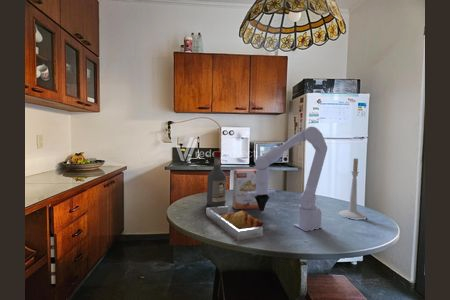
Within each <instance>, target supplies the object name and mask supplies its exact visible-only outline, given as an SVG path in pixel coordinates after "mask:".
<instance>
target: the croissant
mask: <svg viewBox="0 0 450 300" xmlns="http://www.w3.org/2000/svg"><path fill="white" fill-rule="evenodd" d="M219 216H220V217H222V218H223V219H225V220H226V221H227V222H229V223H230V224H232V225H233V226H234V227H236V228H237V229H239V230H240V229H247V228H254V227H263V226H264V222H263V221H261V220H259V219H257V218H254V217H253V216H252V215H250V214H248V212H247V211H244V210H240V211H237V212H228V213H227V214H220V215H219Z"/></svg>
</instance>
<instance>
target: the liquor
mask: <svg viewBox="0 0 450 300" xmlns="http://www.w3.org/2000/svg"><path fill="white" fill-rule="evenodd" d="M213 157H214V158H213V159H214V160H213V161H214V162H213V168H212V170H211V171H210V172H209V173H208V174H207V178H206V179H207V183H206V184H207V185H206V204H207V206H210V207H220V206H226V201H227V199H226V194H227V193H226V192H227V175H226V173H225V172H224V171H223V169H222V167H221V157H222V151H218V150H216V151H214V153H213Z"/></svg>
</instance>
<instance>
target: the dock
mask: <svg viewBox="0 0 450 300" xmlns="http://www.w3.org/2000/svg"><path fill="white" fill-rule="evenodd" d="M205 209H206V210H205V211H206V214H205V215H206V217H208V218H209V219H211V220H212V221H213V222H215V223H216V224H217V225H218V226H219V227H221V228H222V229H223V230H224V231H225V232H227V233H228V234H230V235H231V237H233V238H234V239H235V240H237V241H243V240H249V239H254V238H255V239H256V238H262V237H263V234H264V233H263V231H264V229H263V228H264V227H263V226H260V227H254V228H243V229H240V228H236V227H234V226H233V225H232V224H230V223H229V222H227V221H226V220H225V219H223V218H222V217H220V216H221V215H223V214H229V206H227V205H224V206H220V207H212V206H210V207H206V208H205Z"/></svg>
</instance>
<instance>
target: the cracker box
mask: <svg viewBox="0 0 450 300" xmlns="http://www.w3.org/2000/svg"><path fill="white" fill-rule="evenodd" d="M232 181H233V183H232V208H233V209H235V210H249V209H259V208H258V204H257V201H256V199H255V197H254V196H253V197H248V196H247V192H252V191H256V169H253V168H250V169H243V168H242V169H233V180H232Z"/></svg>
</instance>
